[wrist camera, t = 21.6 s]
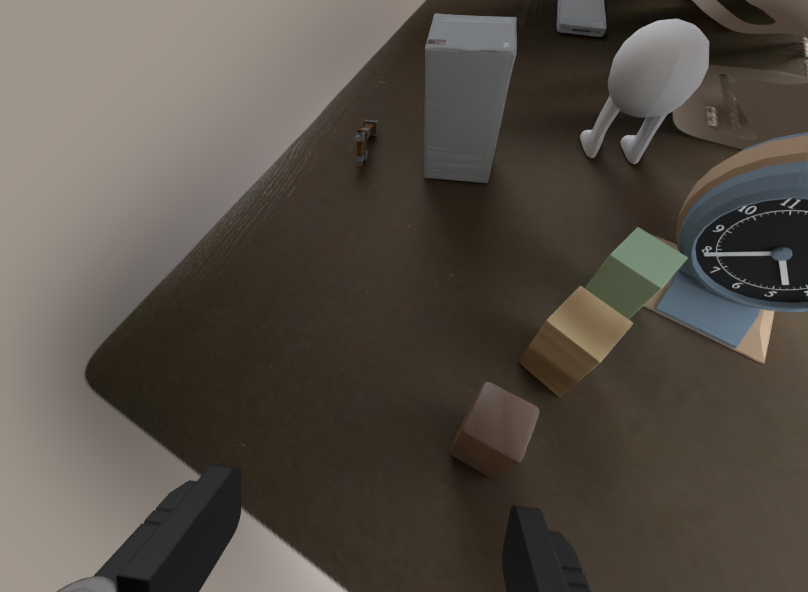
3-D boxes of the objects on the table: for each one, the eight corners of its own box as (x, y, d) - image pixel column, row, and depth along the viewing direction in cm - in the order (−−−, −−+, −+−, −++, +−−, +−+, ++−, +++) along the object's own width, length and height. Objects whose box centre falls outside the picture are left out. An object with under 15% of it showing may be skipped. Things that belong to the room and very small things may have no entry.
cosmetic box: (490, 152, 50) (522, 12, 37) (487, 190, 46) (522, 50, 33) (425, 145, 51) (434, 5, 37) (418, 182, 47) (424, 41, 34)
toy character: (642, 136, 52) (721, 7, 39) (650, 181, 47) (743, 52, 35) (574, 127, 53) (629, -2, 40) (575, 170, 48) (638, 40, 36)
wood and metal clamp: (350, 169, 47) (349, 130, 44) (363, 153, 53) (363, 118, 51) (364, 171, 47) (365, 131, 44) (376, 154, 53) (377, 119, 51)
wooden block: (447, 453, 31) (460, 431, 24) (468, 410, 32) (485, 377, 26) (493, 481, 30) (521, 465, 23) (512, 434, 31) (543, 407, 25)
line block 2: (612, 334, 36) (661, 288, 29) (572, 304, 38) (609, 254, 31) (637, 306, 38) (688, 257, 31) (597, 279, 40) (638, 226, 33)
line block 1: (559, 397, 33) (600, 362, 26) (517, 362, 35) (546, 320, 28) (588, 364, 35) (633, 322, 28) (547, 331, 36) (580, 285, 30)
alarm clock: (617, 293, 39) (755, 141, 24) (645, 233, 43) (777, 71, 28) (774, 370, 34) (1063, 243, 19) (788, 294, 39) (1033, 142, 24)
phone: (555, 32, 67) (558, 23, 66) (557, -7, 76) (559, -14, 75) (603, 37, 66) (607, 29, 65) (600, -2, 75) (603, -10, 74)
